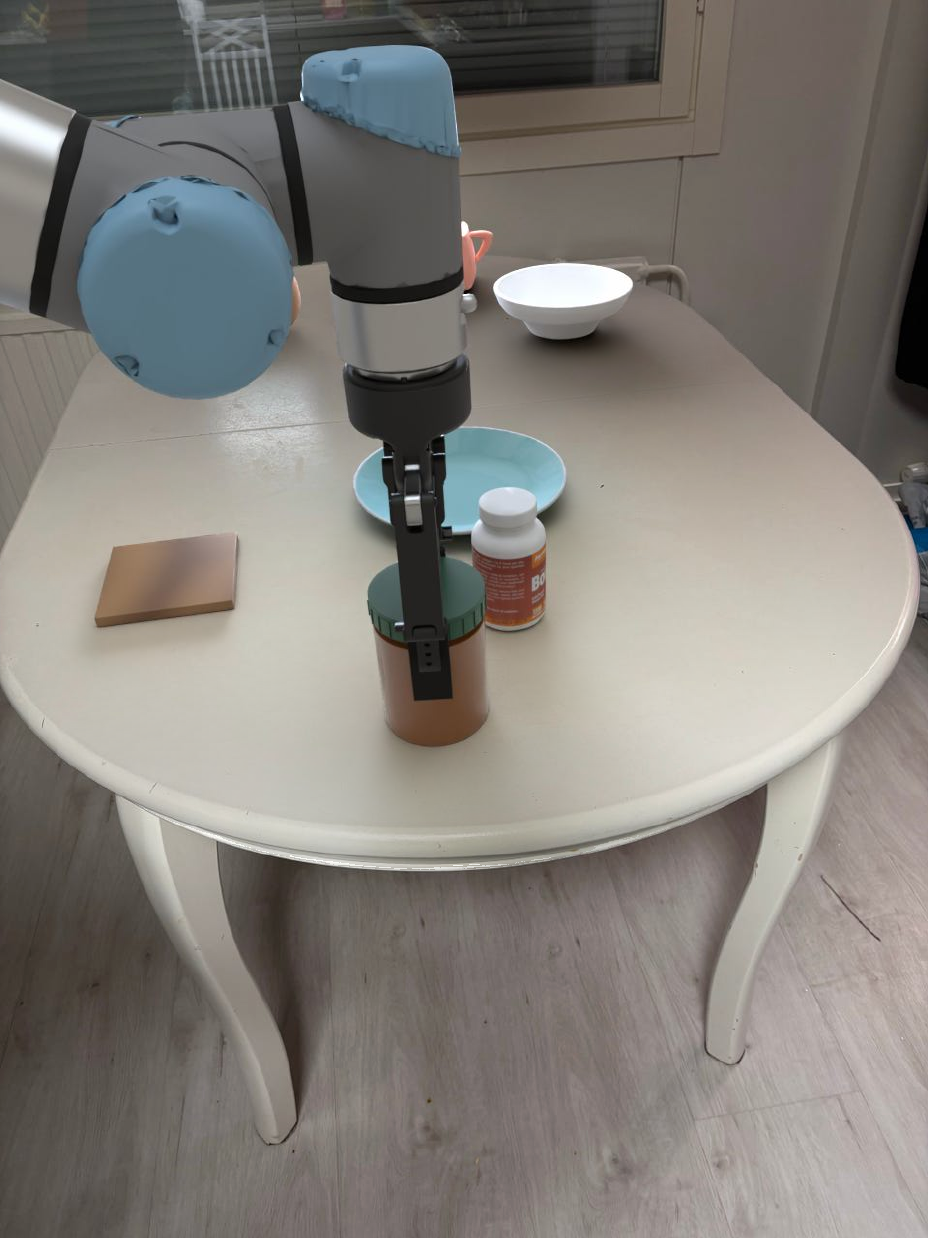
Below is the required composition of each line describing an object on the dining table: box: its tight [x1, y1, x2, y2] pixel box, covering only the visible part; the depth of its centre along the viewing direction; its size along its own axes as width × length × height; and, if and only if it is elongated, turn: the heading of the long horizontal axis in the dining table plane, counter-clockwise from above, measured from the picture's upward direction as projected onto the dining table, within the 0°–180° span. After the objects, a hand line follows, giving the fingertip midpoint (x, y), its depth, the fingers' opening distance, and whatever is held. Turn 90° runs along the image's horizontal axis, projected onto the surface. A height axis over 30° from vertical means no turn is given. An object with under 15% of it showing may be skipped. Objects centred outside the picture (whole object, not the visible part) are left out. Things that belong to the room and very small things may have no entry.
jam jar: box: [372, 614, 490, 747], centre depth 68 cm, size 8×8×11 cm
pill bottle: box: [470, 487, 547, 632], centre depth 77 cm, size 6×6×11 cm
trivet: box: [94, 531, 239, 628], centre depth 87 cm, size 12×12×1 cm
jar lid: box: [366, 556, 487, 643], centre depth 65 cm, size 8×8×2 cm
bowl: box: [493, 263, 634, 340], centre depth 132 cm, size 20×20×7 cm
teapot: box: [461, 221, 494, 291], centre depth 151 cm, size 12×18×10 cm, turn 90°
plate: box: [352, 426, 568, 536], centre depth 96 cm, size 22×22×3 cm
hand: (433, 655), depth 68 cm, fingers closed on jar lid, 8 cm apart
